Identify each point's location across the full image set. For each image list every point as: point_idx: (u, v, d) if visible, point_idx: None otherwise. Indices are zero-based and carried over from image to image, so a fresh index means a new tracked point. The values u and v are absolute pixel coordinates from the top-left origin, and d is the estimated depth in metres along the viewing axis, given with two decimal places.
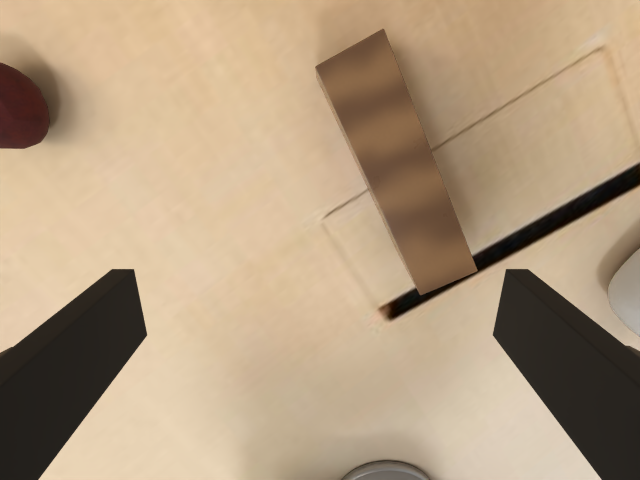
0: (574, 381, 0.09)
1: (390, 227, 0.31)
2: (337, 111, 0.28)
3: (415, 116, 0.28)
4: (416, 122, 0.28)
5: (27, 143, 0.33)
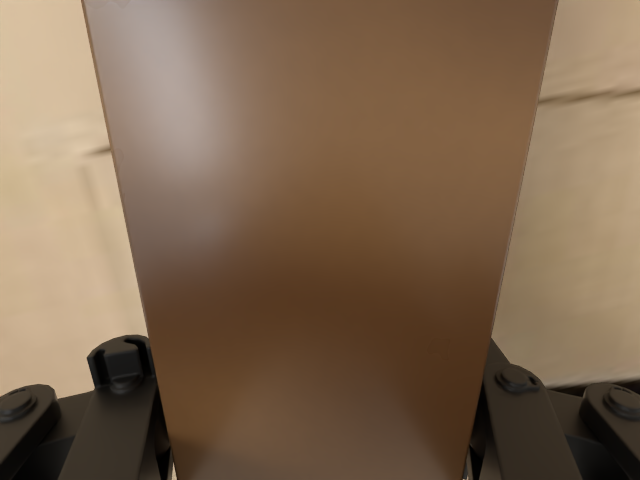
0: None
1: (143, 288, 0.05)
2: None
3: None
4: None
5: None
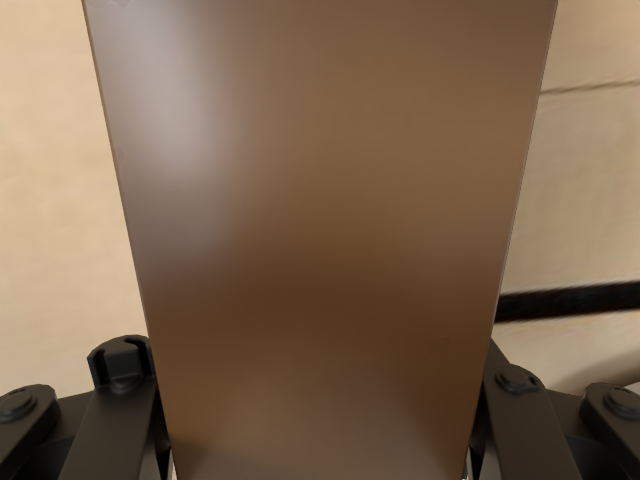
0: None
1: (144, 287, 0.05)
2: None
3: None
4: None
5: None
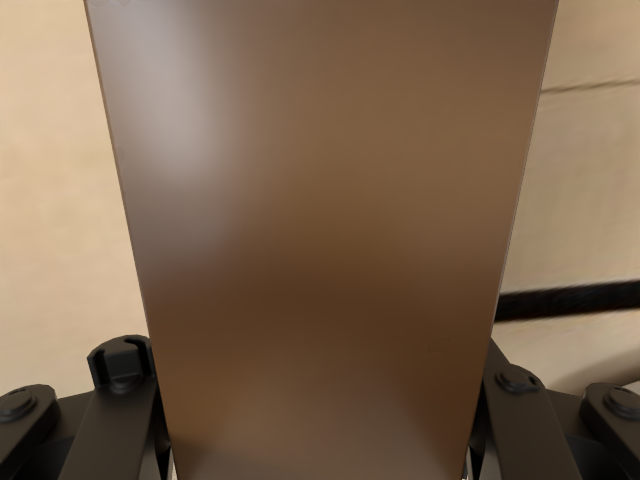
0: None
1: (144, 286, 0.05)
2: None
3: None
4: None
5: None
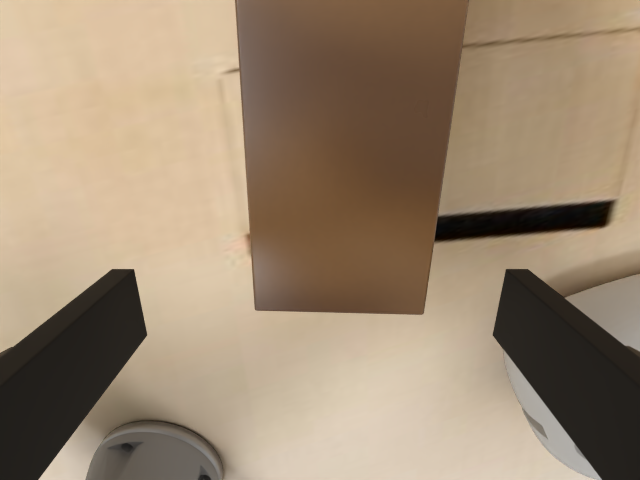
0: (574, 381, 0.09)
1: (242, 59, 0.09)
2: None
3: None
4: None
5: None
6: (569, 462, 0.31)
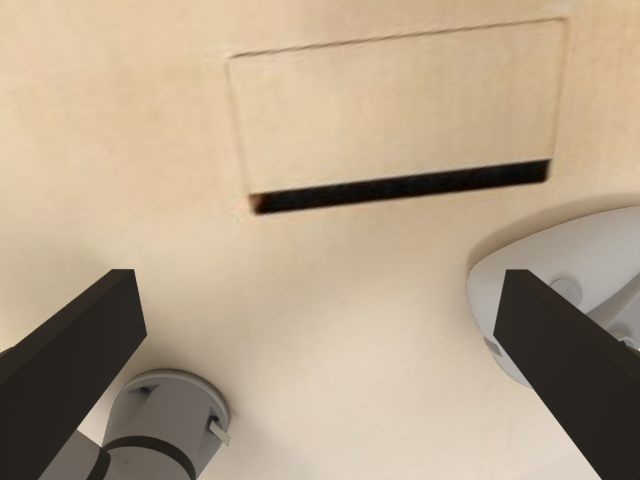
0: (574, 381, 0.09)
1: None
2: None
3: None
4: None
5: None
6: (521, 376, 0.37)
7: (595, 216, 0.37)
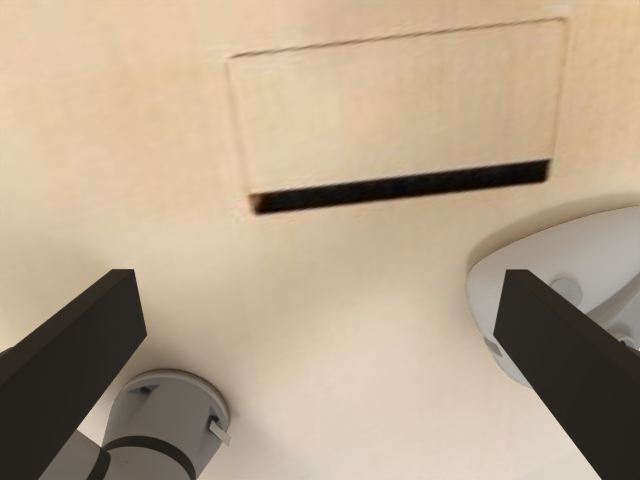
0: (574, 381, 0.09)
1: None
2: None
3: None
4: None
5: None
6: (521, 376, 0.37)
7: (595, 216, 0.37)
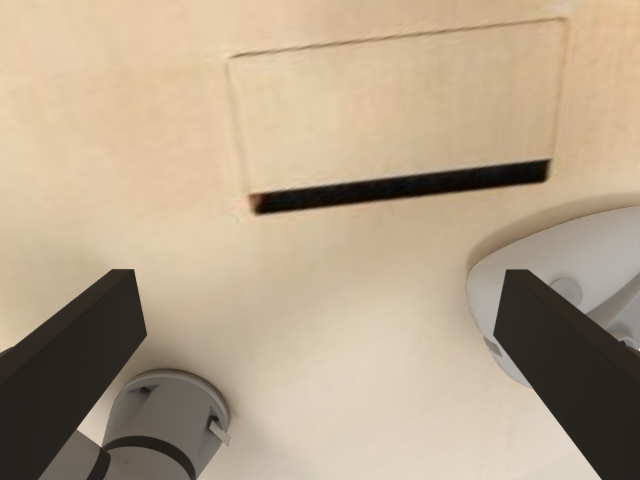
0: (574, 381, 0.09)
1: None
2: None
3: None
4: None
5: None
6: (521, 376, 0.37)
7: (595, 216, 0.37)
